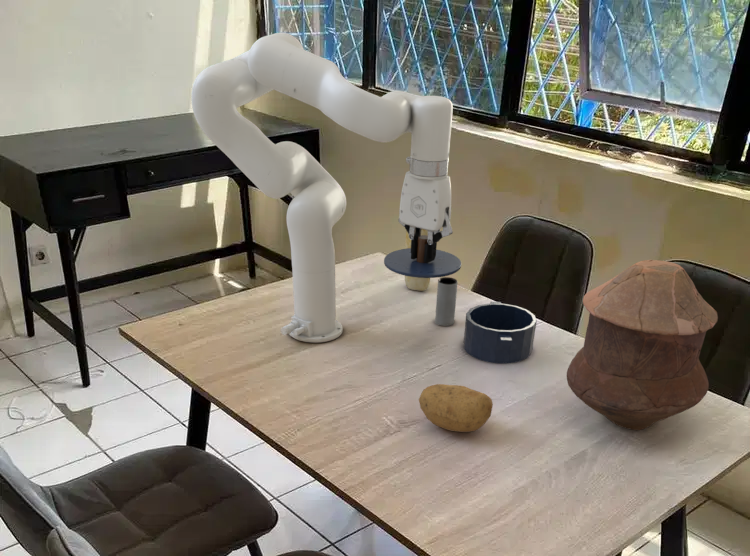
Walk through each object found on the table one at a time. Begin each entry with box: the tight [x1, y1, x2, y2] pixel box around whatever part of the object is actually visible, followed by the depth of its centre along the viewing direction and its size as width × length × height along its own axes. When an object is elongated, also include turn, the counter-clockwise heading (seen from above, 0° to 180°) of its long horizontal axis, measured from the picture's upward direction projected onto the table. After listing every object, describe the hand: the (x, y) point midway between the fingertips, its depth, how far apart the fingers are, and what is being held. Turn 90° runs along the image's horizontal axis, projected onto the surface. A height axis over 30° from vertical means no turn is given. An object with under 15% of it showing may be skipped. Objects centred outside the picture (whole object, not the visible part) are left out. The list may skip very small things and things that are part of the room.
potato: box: [418, 383, 494, 433], centre depth 144 cm, size 10×14×8 cm
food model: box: [404, 229, 431, 292], centre depth 197 cm, size 10×7×20 cm
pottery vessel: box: [566, 259, 719, 431], centre depth 142 cm, size 26×26×30 cm
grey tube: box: [434, 276, 459, 327], centre depth 182 cm, size 4×4×10 cm
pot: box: [463, 301, 537, 365], centre depth 172 cm, size 15×21×8 cm
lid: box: [383, 235, 462, 279], centre depth 162 cm, size 16×16×6 cm
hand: (422, 258), depth 163 cm, fingers closed on lid, 2 cm apart
